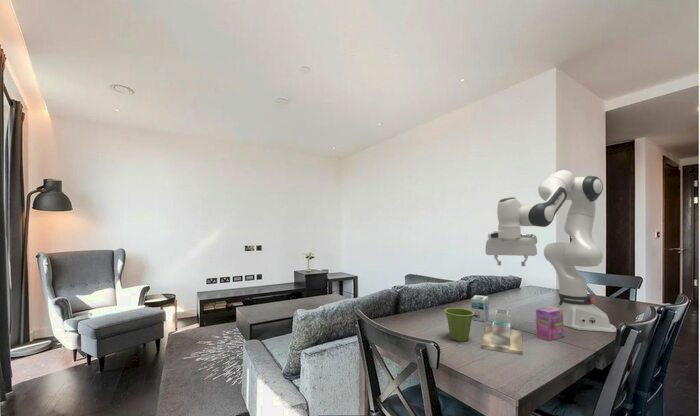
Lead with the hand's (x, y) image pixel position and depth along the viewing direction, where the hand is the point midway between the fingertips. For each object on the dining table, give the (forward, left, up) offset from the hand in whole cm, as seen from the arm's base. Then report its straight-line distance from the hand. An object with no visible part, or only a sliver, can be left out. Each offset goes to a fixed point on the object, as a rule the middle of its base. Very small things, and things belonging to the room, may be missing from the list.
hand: (511, 265), depth 138 cm
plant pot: (+20, +16, -30) cm, 39 cm away
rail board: (+4, +10, -30) cm, 31 cm away
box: (-14, -4, -30) cm, 33 cm away
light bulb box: (+15, -20, -30) cm, 39 cm away
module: (+4, +10, -28) cm, 30 cm away
